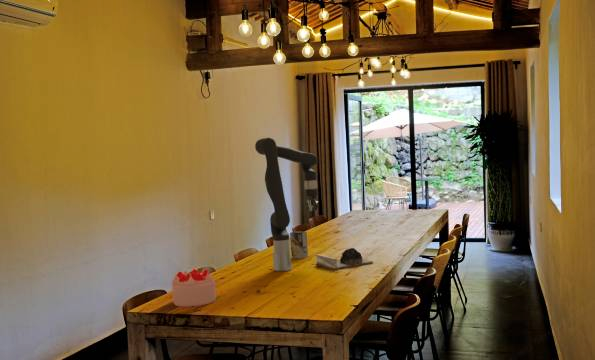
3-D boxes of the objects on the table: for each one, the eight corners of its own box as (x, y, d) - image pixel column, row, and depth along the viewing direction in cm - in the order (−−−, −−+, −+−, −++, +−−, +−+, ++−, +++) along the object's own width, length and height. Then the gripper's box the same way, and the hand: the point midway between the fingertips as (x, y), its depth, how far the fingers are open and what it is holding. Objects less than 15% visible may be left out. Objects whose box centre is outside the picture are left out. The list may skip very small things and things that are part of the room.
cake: (218, 295, 293) (216, 266, 292) (213, 305, 273) (211, 274, 272) (177, 298, 292) (175, 269, 292) (170, 309, 272) (167, 277, 272)
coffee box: (308, 256, 382) (307, 231, 381) (304, 258, 377) (302, 232, 376) (295, 256, 386) (294, 231, 386) (291, 258, 381) (289, 232, 380)
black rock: (346, 262, 358) (343, 245, 357) (368, 260, 351) (364, 243, 350) (337, 268, 346) (334, 251, 345) (359, 267, 340) (355, 249, 339)
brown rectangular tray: (354, 258, 363) (353, 248, 363) (373, 263, 345) (372, 252, 345) (316, 265, 351) (315, 254, 351) (333, 270, 334) (332, 259, 333)
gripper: (300, 188, 363) (302, 217, 364) (310, 188, 351) (312, 218, 352) (311, 187, 366) (313, 215, 367) (322, 187, 354) (324, 217, 355)
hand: (313, 217), depth 359 cm, fingers closed
